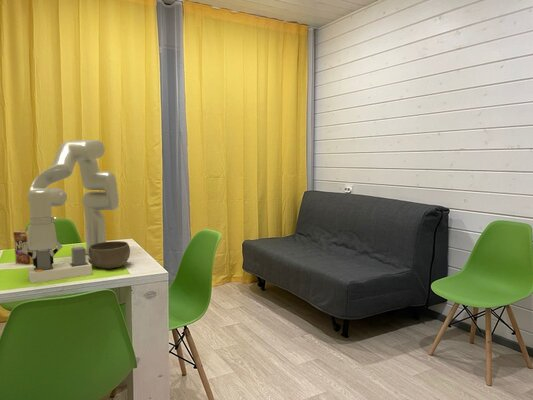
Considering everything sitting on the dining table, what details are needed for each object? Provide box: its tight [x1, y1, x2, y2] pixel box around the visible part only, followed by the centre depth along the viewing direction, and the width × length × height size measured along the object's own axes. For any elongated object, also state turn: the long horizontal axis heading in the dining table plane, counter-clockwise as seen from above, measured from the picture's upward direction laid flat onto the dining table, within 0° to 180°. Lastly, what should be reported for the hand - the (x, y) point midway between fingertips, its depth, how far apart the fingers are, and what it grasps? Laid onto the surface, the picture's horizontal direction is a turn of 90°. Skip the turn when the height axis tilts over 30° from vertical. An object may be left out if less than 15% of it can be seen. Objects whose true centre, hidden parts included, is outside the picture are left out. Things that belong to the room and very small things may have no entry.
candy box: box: [12, 230, 33, 266], centre depth 187 cm, size 9×4×15 cm, turn 72°
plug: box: [36, 249, 51, 271], centre depth 163 cm, size 4×4×10 cm
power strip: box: [27, 244, 93, 284], centre depth 166 cm, size 22×10×12 cm, turn 124°
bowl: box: [87, 240, 131, 270], centre depth 184 cm, size 17×18×10 cm
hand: (43, 266), depth 163 cm, fingers closed on plug, 4 cm apart
